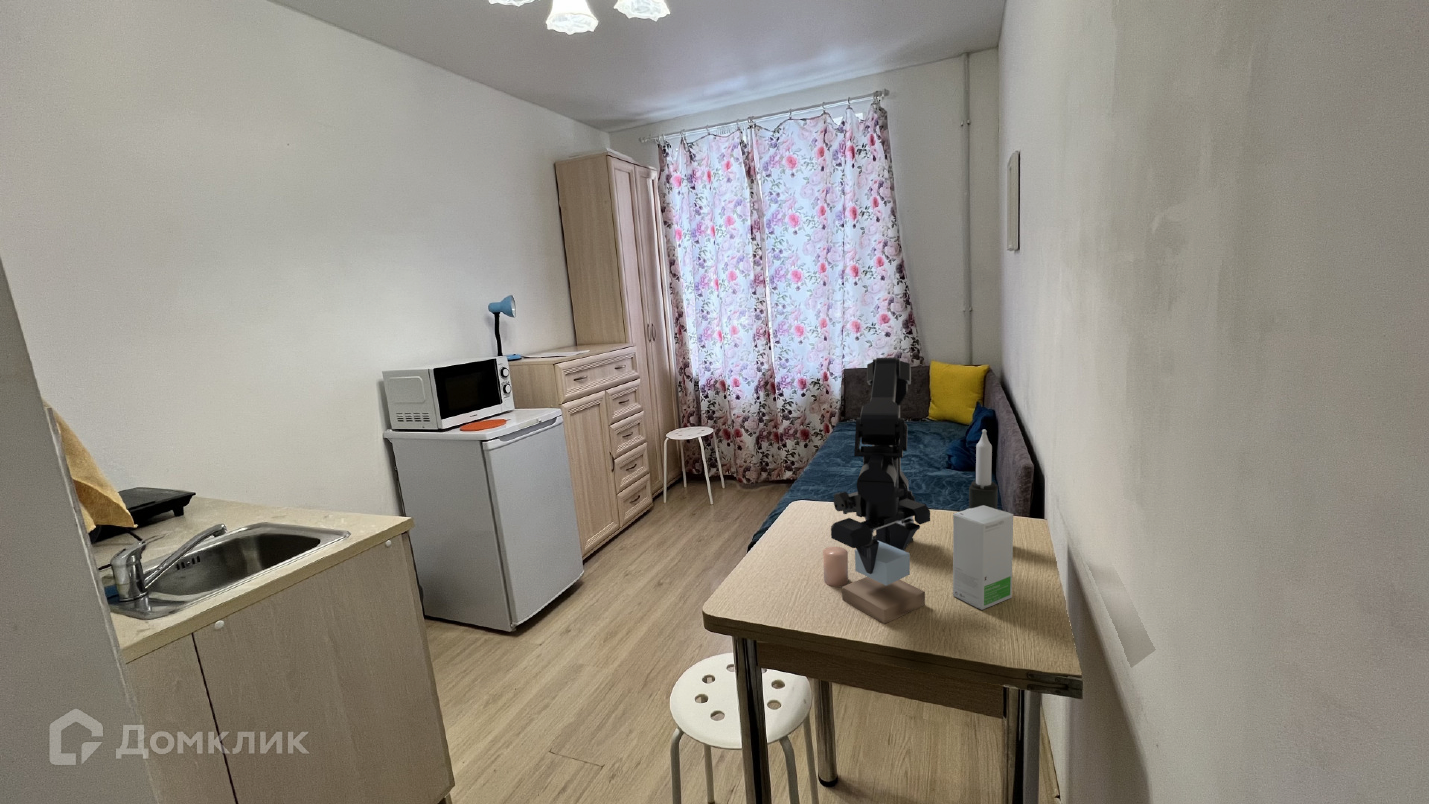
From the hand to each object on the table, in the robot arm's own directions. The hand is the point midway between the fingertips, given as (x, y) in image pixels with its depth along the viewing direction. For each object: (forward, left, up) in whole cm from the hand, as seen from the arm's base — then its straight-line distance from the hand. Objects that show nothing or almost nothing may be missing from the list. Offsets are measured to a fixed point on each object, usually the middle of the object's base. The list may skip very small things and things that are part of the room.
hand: (882, 567), depth 103 cm
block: (0, 0, -1) cm, 1 cm away
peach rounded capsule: (+1, -11, -7) cm, 13 cm away
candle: (-34, -4, -7) cm, 35 cm away
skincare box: (-15, +9, -7) cm, 19 cm away
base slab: (0, 0, -7) cm, 7 cm away
